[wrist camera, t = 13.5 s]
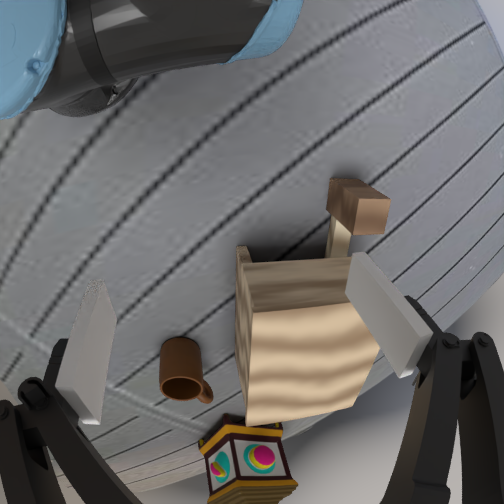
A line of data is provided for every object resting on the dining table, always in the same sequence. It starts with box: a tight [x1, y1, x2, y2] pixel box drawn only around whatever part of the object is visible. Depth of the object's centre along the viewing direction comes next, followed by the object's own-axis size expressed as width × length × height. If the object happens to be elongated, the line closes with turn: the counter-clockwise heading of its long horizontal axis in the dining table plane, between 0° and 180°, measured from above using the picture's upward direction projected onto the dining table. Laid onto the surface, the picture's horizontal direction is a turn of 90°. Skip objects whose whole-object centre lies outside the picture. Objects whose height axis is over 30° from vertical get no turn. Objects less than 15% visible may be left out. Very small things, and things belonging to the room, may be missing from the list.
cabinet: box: [235, 246, 380, 427], centre depth 47 cm, size 25×20×16 cm
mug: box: [159, 338, 213, 404], centre depth 52 cm, size 12×8×9 cm, turn 35°
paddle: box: [324, 178, 391, 259], centre depth 47 cm, size 27×5×9 cm, turn 178°
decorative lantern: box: [198, 414, 298, 504], centre depth 61 cm, size 20×20×30 cm
